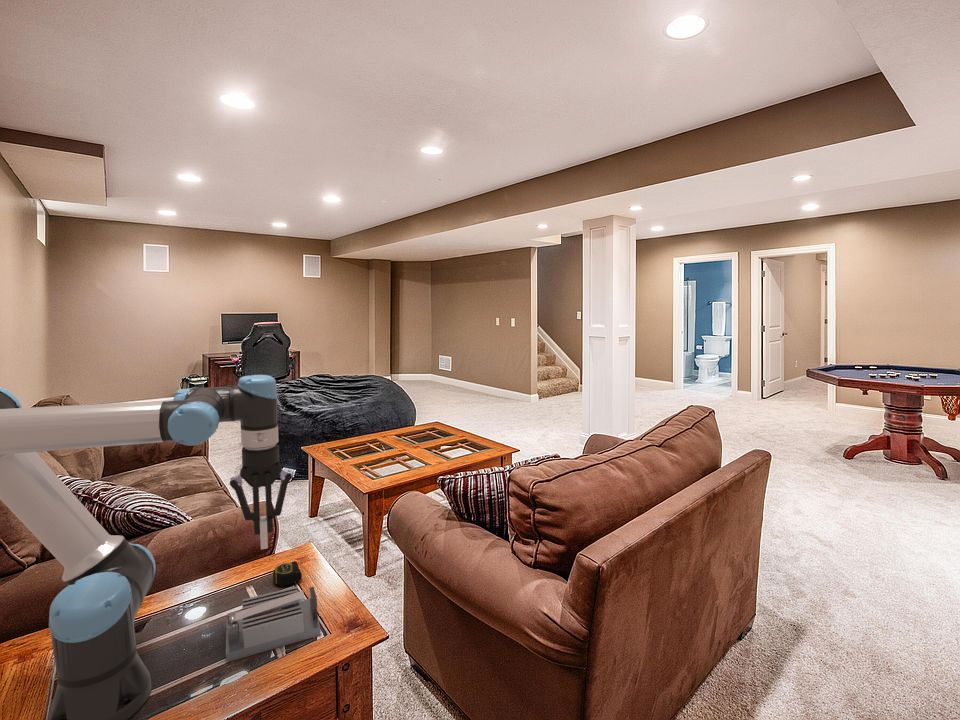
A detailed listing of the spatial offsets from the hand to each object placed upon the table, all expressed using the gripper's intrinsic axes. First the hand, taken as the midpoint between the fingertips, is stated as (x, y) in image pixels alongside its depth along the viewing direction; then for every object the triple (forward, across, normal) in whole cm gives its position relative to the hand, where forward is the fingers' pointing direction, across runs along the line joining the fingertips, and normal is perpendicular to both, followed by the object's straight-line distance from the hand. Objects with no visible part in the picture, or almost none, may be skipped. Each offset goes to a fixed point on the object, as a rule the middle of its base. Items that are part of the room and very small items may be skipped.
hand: (264, 546), depth 112 cm
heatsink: (+20, +1, -3) cm, 20 cm away
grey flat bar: (+14, 0, -3) cm, 14 cm away
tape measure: (+20, +6, +18) cm, 27 cm away
